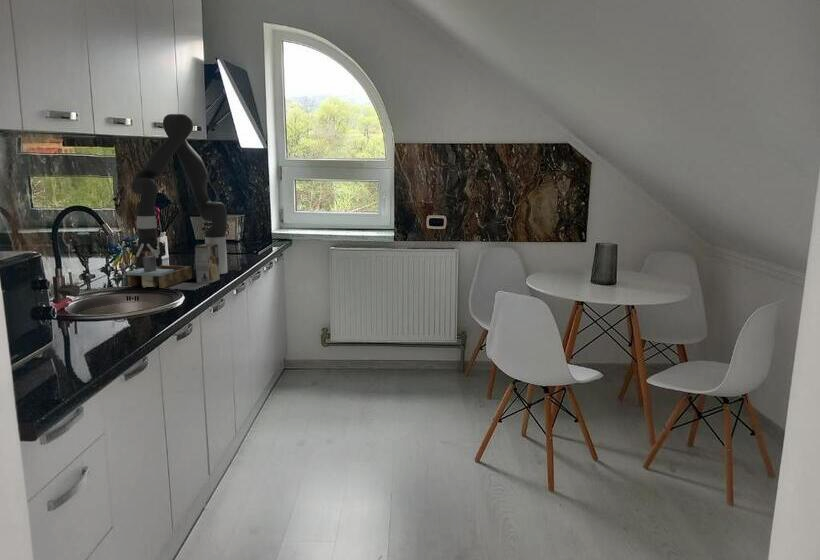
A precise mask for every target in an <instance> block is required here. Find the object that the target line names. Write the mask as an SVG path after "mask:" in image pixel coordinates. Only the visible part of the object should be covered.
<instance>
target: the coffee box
mask: <svg viewBox="0 0 820 560" xmlns="http://www.w3.org/2000/svg"><path fill="white" fill-rule="evenodd" d="M194 258H195V259H194V260H195V273H196V283H206V284H209V283H210V284H211V283H214V282H218V281H220V280H221V277H220V275H221V274H220V273H219V256H218V244H205V243H204V244H199V245H195V246H194Z"/></svg>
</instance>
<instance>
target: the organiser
mask: <svg viewBox="0 0 820 560" xmlns="http://www.w3.org/2000/svg"><path fill="white" fill-rule="evenodd" d="M156 269H174V272H171V273H168V274H165V275H162V276H159V286H158V287H159V288H164V289H166V288H169V287H172V286H175V285H178V284H180V283H184V282H186V281H189V280H191V278H192V279H193V273H192V270H193V269H192V265H167V264H166V265H165V264H164V265H163V264H161V266H159V267H157V266H156ZM188 279H189V280H188ZM136 285H138V286H140V285H141V286H142V276H140V275H127V286H135V287H137V286H136ZM165 287H166V288H165Z"/></svg>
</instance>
